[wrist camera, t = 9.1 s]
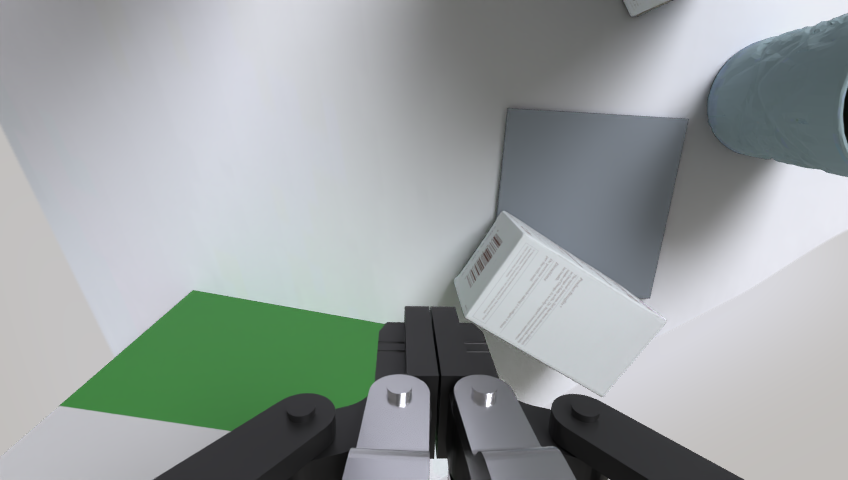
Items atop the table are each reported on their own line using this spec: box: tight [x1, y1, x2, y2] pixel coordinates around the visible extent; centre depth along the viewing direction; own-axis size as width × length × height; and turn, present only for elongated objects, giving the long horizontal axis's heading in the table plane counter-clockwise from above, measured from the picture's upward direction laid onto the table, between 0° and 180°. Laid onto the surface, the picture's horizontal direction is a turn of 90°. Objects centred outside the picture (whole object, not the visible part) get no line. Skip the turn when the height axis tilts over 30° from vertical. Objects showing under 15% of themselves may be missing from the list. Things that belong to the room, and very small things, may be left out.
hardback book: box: [0, 290, 385, 480], centre depth 28 cm, size 18×7×24 cm, turn 78°
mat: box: [496, 108, 689, 298], centre depth 36 cm, size 15×14×1 cm
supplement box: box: [454, 211, 666, 397], centre depth 34 cm, size 7×7×13 cm
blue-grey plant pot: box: [707, 13, 848, 177], centre depth 29 cm, size 10×10×12 cm
